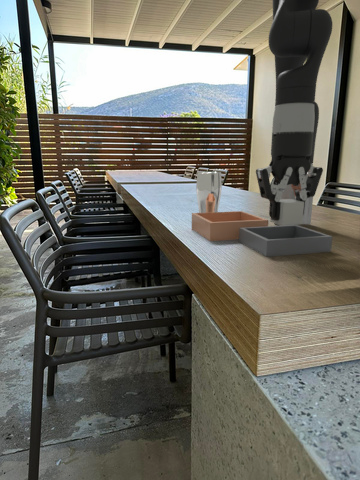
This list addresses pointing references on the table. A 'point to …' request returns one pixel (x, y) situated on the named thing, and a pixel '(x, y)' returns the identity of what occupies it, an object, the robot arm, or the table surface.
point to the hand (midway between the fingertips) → (286, 218)
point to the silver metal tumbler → (208, 191)
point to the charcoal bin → (284, 240)
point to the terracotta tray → (224, 224)
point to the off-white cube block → (290, 212)
